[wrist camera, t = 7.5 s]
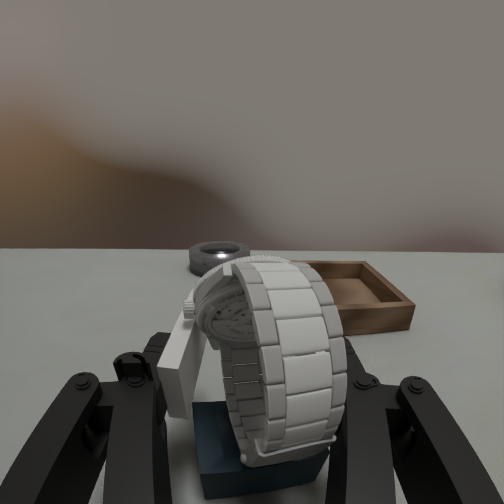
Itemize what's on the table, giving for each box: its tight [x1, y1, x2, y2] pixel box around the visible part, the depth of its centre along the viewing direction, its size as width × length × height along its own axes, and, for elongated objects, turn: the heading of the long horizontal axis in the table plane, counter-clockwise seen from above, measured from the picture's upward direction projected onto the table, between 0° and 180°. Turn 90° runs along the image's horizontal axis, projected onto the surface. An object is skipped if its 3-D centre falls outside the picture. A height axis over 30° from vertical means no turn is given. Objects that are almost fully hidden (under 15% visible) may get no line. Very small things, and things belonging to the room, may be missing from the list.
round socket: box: [189, 241, 250, 277], centre depth 41 cm, size 9×9×3 cm
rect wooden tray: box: [289, 260, 416, 336], centre depth 30 cm, size 14×14×3 cm
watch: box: [183, 255, 347, 499], centre depth 10 cm, size 6×8×11 cm
